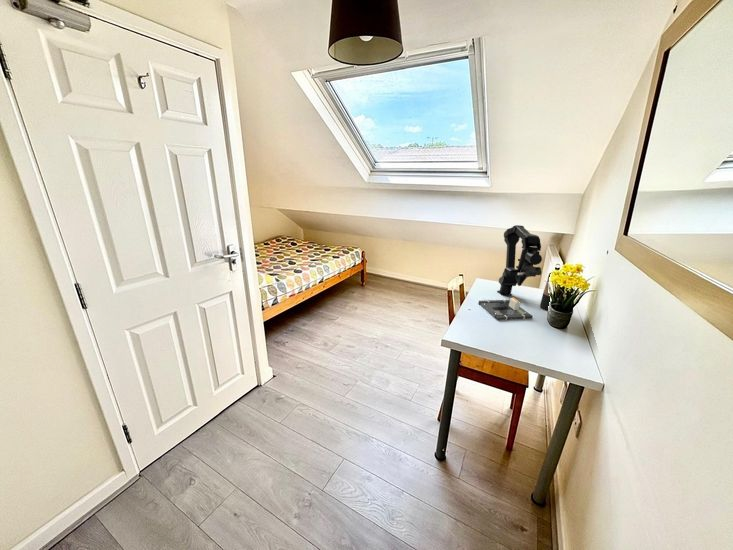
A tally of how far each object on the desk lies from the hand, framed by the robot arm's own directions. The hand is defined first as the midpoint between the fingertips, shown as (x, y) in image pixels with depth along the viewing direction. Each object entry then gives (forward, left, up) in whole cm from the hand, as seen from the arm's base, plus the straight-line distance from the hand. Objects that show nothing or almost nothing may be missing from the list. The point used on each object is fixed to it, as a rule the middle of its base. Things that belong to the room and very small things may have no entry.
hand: (519, 285), depth 162 cm
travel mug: (+5, +17, -12) cm, 22 cm away
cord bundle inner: (-2, -10, -12) cm, 16 cm away
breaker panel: (+6, -10, -12) cm, 17 cm away
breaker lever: (+6, -5, -10) cm, 13 cm away
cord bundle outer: (+14, -10, -12) cm, 21 cm away
